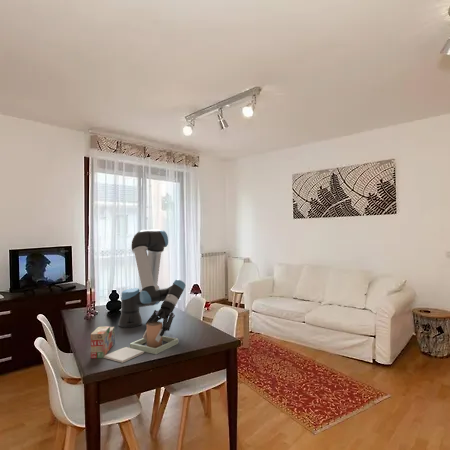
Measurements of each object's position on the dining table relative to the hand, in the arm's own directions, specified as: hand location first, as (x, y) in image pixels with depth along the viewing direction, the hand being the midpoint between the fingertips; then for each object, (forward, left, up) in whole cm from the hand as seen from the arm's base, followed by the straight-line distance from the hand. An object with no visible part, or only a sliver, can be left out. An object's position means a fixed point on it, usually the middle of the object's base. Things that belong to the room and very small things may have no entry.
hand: (150, 339), depth 176 cm
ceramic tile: (-4, -15, -4) cm, 16 cm away
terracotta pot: (0, +3, -4) cm, 5 cm away
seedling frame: (0, +3, -4) cm, 5 cm away
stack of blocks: (-19, -15, -5) cm, 25 cm away
